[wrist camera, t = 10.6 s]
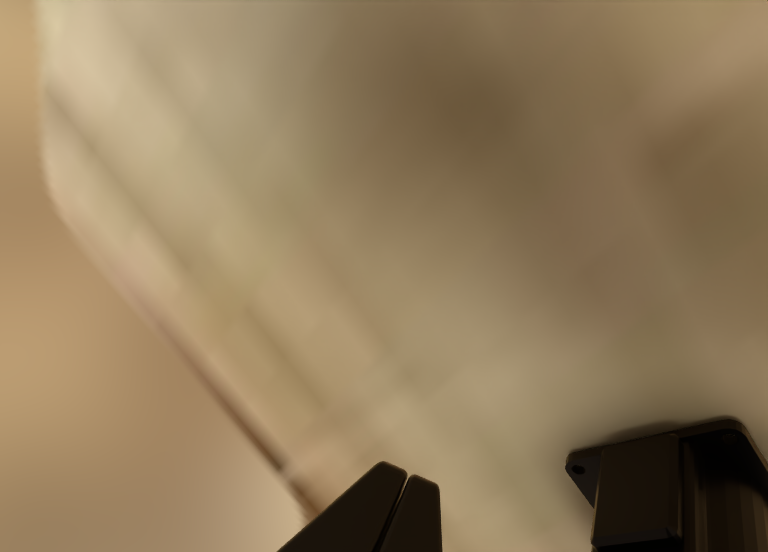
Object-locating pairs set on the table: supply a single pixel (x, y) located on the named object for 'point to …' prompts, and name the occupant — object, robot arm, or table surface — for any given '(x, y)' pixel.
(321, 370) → the table surface
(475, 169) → the table surface
